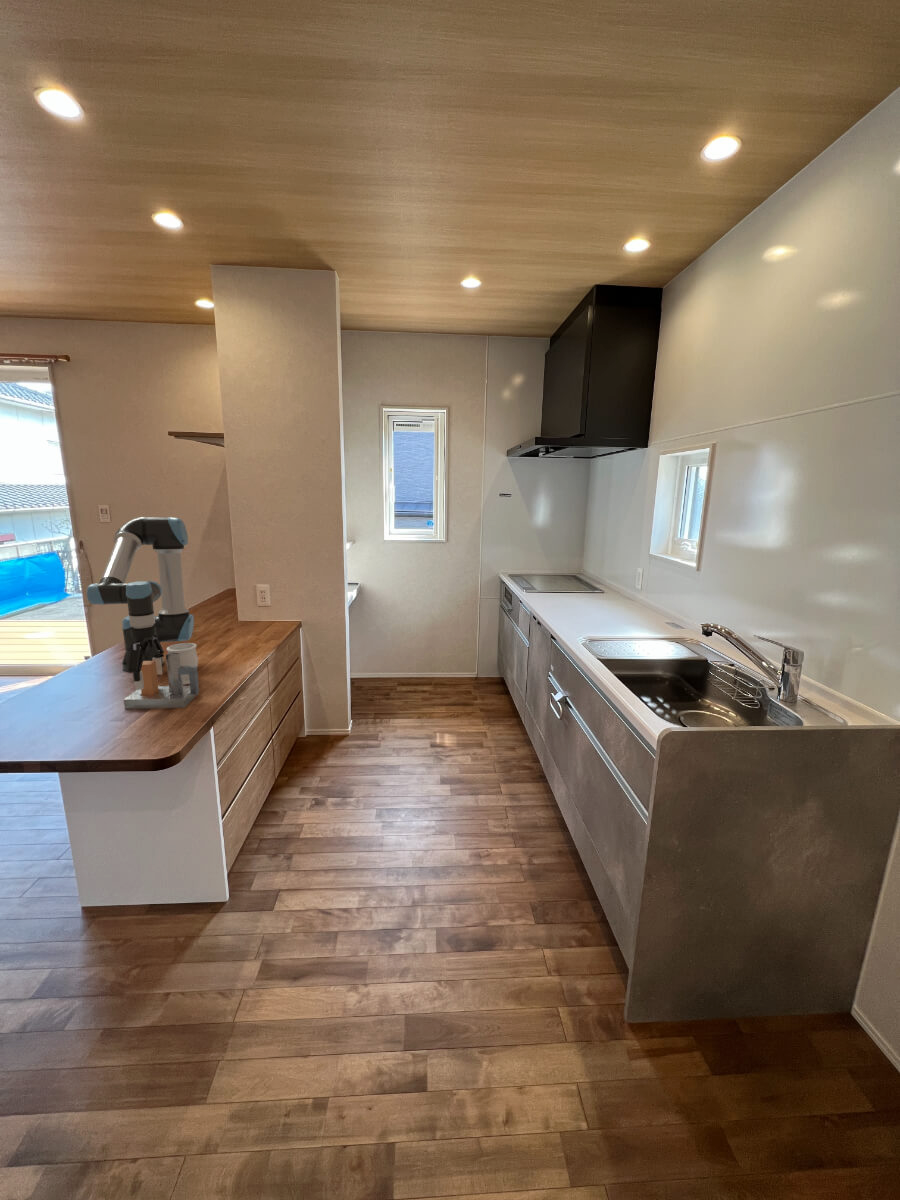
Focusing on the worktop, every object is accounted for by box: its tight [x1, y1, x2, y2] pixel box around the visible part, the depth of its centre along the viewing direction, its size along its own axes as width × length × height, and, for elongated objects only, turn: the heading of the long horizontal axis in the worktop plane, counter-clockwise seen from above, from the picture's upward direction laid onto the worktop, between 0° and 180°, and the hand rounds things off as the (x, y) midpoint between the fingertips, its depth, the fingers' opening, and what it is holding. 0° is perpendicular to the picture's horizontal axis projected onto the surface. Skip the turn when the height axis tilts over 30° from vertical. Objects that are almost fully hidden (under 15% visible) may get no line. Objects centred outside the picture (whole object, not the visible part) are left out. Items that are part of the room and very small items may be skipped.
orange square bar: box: [141, 661, 159, 695], centre depth 173 cm, size 4×4×15 cm
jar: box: [166, 642, 199, 686], centre depth 192 cm, size 11×10×15 cm
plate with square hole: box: [123, 653, 200, 710], centre depth 173 cm, size 12×22×18 cm, turn 97°
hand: (149, 681), depth 173 cm, fingers open, 13 cm apart
